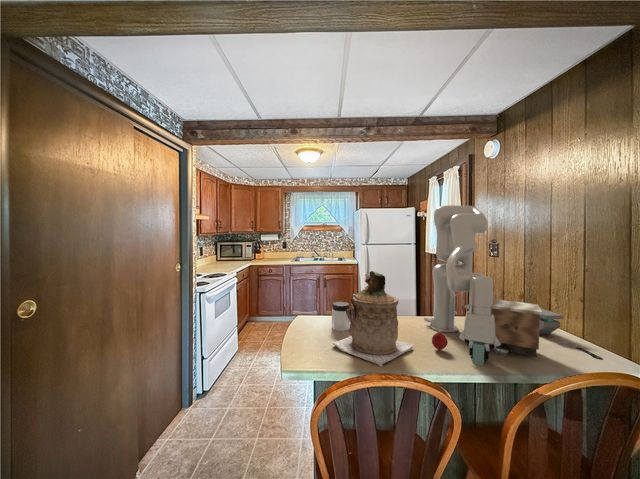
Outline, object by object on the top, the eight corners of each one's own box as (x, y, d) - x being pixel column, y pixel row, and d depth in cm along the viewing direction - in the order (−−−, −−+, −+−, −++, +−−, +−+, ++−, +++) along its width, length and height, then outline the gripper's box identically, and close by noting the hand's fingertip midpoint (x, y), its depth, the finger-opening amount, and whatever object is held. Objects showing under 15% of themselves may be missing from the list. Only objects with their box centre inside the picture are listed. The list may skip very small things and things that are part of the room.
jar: (351, 331, 138) (352, 305, 138) (335, 332, 136) (335, 306, 136) (346, 324, 147) (346, 301, 146) (330, 325, 145) (330, 301, 145)
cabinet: (483, 352, 115) (484, 305, 114) (484, 341, 126) (486, 298, 126) (540, 364, 106) (542, 312, 105) (536, 351, 117) (538, 304, 116)
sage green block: (472, 363, 106) (473, 344, 106) (476, 345, 122) (476, 329, 122) (483, 365, 104) (484, 346, 104) (486, 347, 120) (486, 330, 120)
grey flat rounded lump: (493, 354, 114) (493, 348, 114) (493, 349, 119) (493, 343, 119) (508, 357, 112) (508, 351, 112) (508, 352, 116) (508, 346, 116)
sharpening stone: (505, 322, 155) (506, 301, 154) (520, 321, 155) (520, 301, 155) (545, 339, 130) (546, 315, 130) (562, 339, 130) (562, 315, 130)
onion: (440, 354, 113) (440, 334, 113) (428, 349, 118) (428, 329, 118) (450, 351, 116) (450, 331, 115) (438, 346, 121) (438, 327, 121)
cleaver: (578, 359, 111) (607, 360, 110) (578, 357, 111) (607, 359, 110) (530, 332, 140) (552, 333, 139) (530, 331, 140) (553, 332, 139)
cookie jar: (415, 349, 118) (417, 270, 117) (381, 369, 101) (383, 276, 100) (366, 333, 136) (367, 264, 135) (329, 347, 119) (330, 269, 117)
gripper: (454, 308, 109) (452, 357, 109) (507, 316, 100) (505, 369, 101) (456, 304, 115) (455, 350, 116) (506, 311, 106) (505, 360, 107)
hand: (478, 358), depth 108 cm, fingers closed on sage green block, 3 cm apart
